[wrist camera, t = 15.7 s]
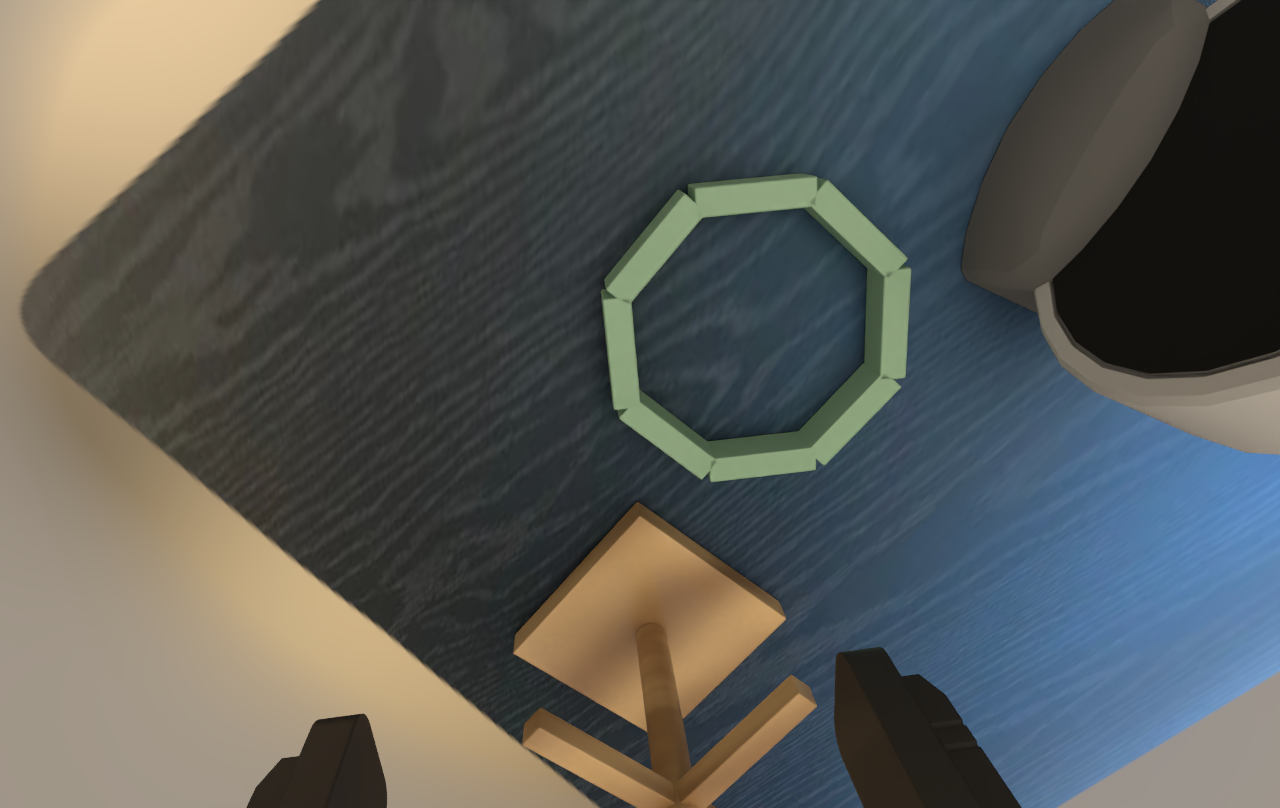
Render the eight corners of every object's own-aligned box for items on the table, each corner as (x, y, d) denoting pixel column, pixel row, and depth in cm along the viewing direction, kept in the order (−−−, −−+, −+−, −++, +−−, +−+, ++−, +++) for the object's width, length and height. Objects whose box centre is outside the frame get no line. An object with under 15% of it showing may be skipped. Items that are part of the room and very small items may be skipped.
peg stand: (831, 594, 39) (944, 801, 27) (661, 757, 42) (697, 1006, 30) (632, 448, 35) (663, 617, 23) (460, 641, 38) (410, 876, 26)
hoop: (947, 307, 34) (969, 318, 32) (754, 506, 37) (764, 527, 35) (743, 109, 30) (754, 108, 28) (545, 350, 33) (544, 363, 31)
